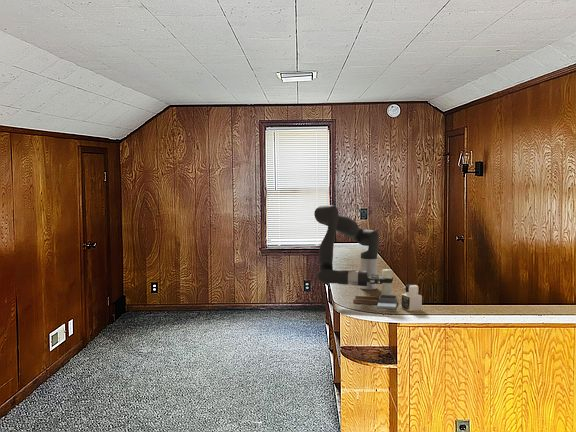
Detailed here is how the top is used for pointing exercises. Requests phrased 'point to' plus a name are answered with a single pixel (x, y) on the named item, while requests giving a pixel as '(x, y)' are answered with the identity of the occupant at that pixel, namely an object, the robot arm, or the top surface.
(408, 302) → the medicine bottle
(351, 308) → the top surface
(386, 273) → the sage canister
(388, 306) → the slate-blue platform
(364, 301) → the walnut channel
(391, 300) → the charcoal pit
